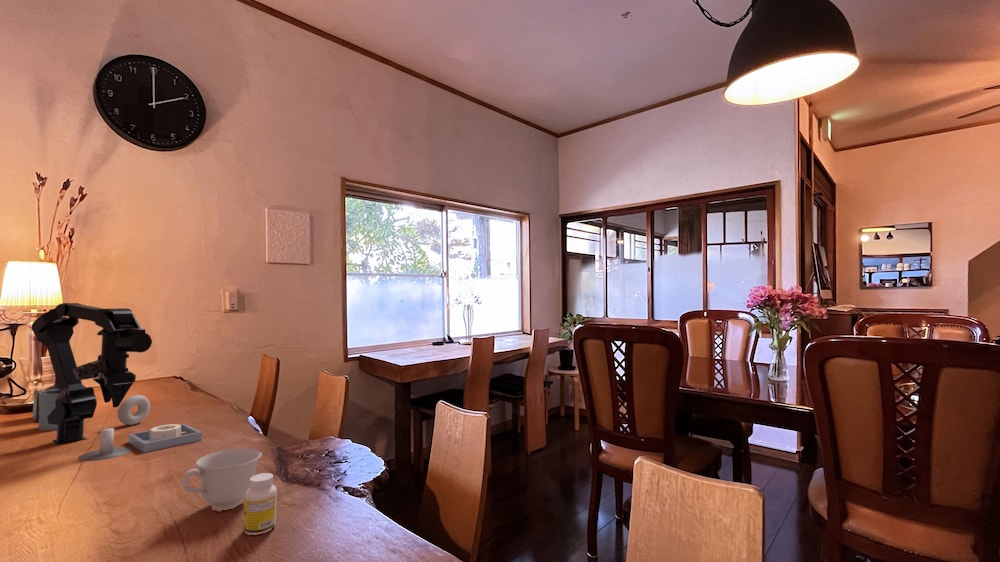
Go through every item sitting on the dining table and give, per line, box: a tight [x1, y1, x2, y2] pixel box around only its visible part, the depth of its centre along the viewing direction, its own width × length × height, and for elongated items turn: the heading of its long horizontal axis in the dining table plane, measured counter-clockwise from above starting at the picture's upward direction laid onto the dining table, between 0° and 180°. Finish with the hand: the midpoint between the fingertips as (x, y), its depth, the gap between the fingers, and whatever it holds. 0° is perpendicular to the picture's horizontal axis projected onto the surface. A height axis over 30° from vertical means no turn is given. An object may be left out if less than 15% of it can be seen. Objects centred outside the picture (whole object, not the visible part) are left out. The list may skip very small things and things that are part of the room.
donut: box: [117, 394, 151, 426], centre depth 149 cm, size 10×3×10 cm, turn 168°
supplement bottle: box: [243, 472, 278, 534], centre depth 83 cm, size 5×5×10 cm
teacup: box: [181, 447, 263, 510], centre depth 91 cm, size 12×15×10 cm
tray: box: [128, 423, 203, 454], centre depth 131 cm, size 14×14×3 cm
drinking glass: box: [38, 389, 60, 432], centre depth 145 cm, size 10×10×12 cm
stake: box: [77, 427, 133, 462], centre depth 120 cm, size 11×11×7 cm
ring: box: [149, 423, 187, 442], centre depth 131 cm, size 7×9×4 cm
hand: (111, 404), depth 127 cm, fingers open, 9 cm apart
